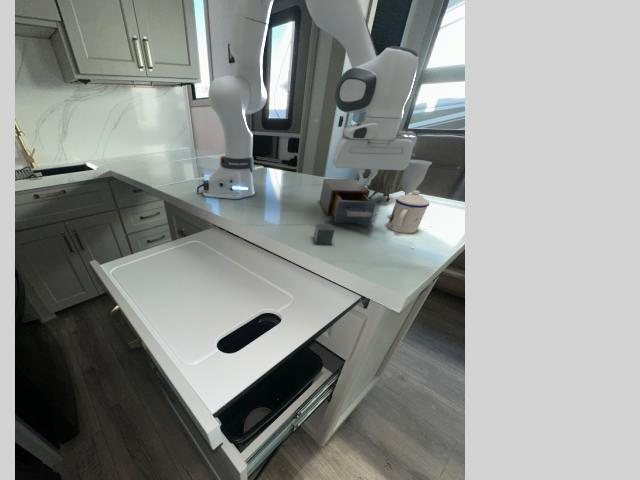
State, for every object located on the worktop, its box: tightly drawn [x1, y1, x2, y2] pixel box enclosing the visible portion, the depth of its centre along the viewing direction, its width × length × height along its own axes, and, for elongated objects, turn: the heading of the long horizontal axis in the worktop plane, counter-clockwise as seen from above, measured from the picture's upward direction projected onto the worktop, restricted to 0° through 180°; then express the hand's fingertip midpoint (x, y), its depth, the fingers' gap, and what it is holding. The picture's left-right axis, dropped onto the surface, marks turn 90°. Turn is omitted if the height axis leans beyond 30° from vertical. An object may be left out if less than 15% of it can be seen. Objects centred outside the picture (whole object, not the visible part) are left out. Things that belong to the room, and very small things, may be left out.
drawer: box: [330, 193, 377, 224], centre depth 89 cm, size 19×11×7 cm, turn 176°
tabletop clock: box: [366, 128, 418, 203], centre depth 101 cm, size 14×9×25 cm, turn 122°
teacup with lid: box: [387, 189, 430, 234], centre depth 82 cm, size 12×9×12 cm
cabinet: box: [319, 178, 371, 216], centre depth 99 cm, size 16×13×9 cm
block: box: [312, 223, 335, 246], centre depth 77 cm, size 4×4×4 cm
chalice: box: [389, 159, 433, 218], centre depth 88 cm, size 7×7×18 cm
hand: (363, 185), depth 79 cm, fingers closed
